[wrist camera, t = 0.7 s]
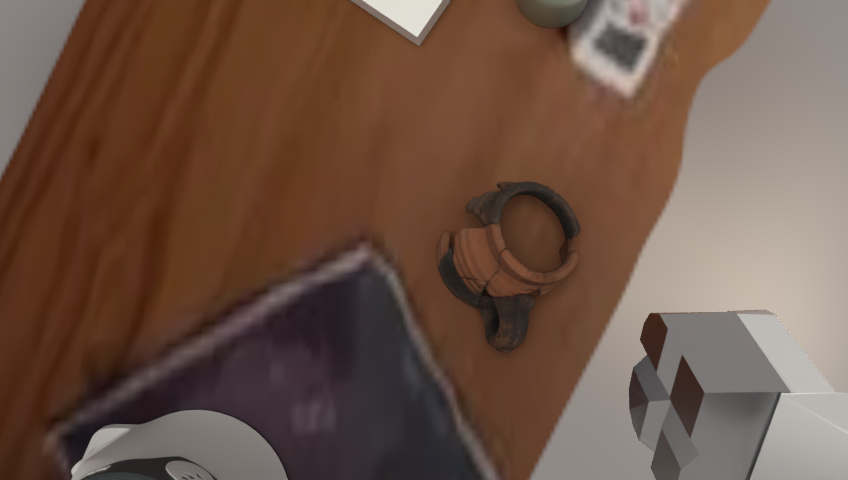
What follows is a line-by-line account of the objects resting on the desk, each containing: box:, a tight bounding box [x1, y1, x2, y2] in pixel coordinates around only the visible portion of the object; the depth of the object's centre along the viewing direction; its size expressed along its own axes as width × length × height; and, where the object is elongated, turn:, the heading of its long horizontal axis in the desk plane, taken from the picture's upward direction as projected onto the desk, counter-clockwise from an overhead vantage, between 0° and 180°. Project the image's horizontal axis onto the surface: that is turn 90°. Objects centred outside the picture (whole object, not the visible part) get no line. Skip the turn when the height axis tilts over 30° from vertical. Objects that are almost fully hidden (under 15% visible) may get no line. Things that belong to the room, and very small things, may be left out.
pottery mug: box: [437, 182, 580, 353], centre depth 58 cm, size 12×10×8 cm
